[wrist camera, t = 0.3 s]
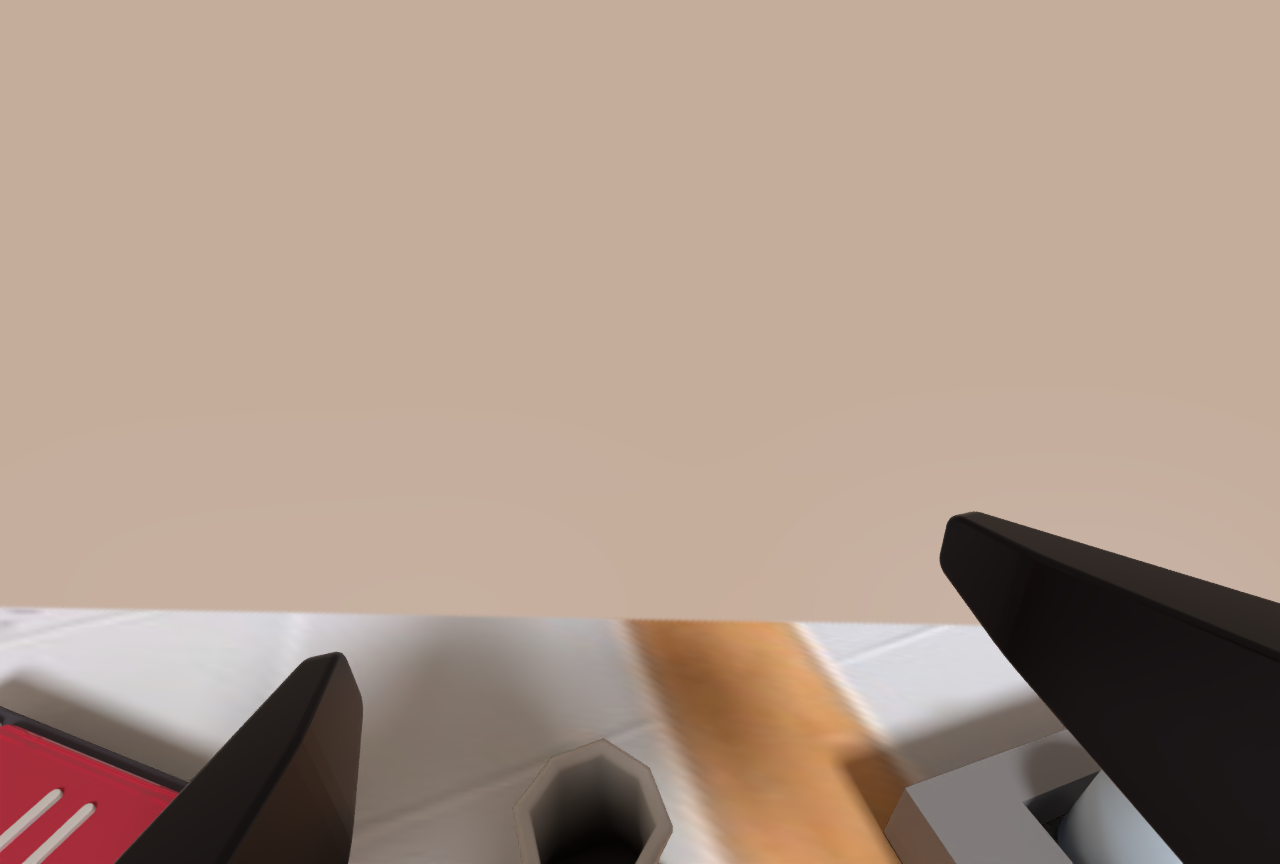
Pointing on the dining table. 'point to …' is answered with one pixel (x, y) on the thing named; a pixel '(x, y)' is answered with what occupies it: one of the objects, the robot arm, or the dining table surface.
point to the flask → (592, 810)
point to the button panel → (993, 807)
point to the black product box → (71, 796)
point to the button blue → (1110, 830)
